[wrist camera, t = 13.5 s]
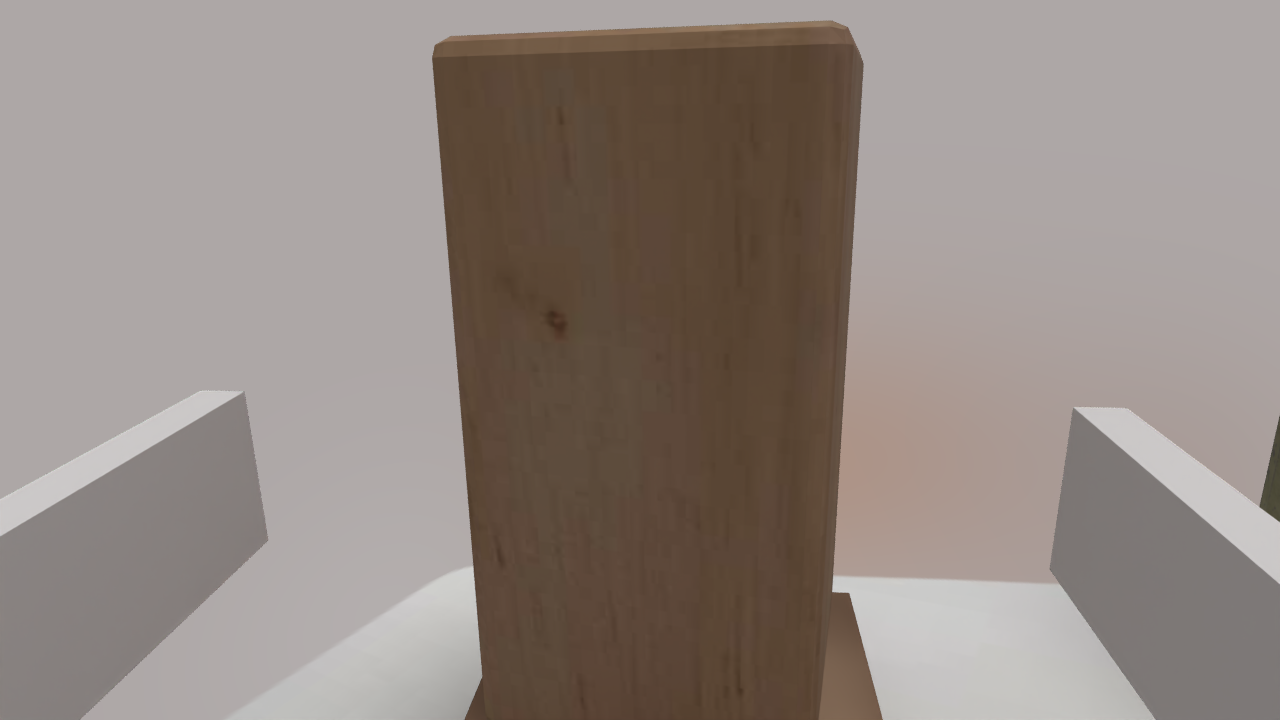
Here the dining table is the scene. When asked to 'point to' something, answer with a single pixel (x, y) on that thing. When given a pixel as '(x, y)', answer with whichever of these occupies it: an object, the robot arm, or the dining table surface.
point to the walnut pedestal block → (846, 677)
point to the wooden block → (651, 359)
